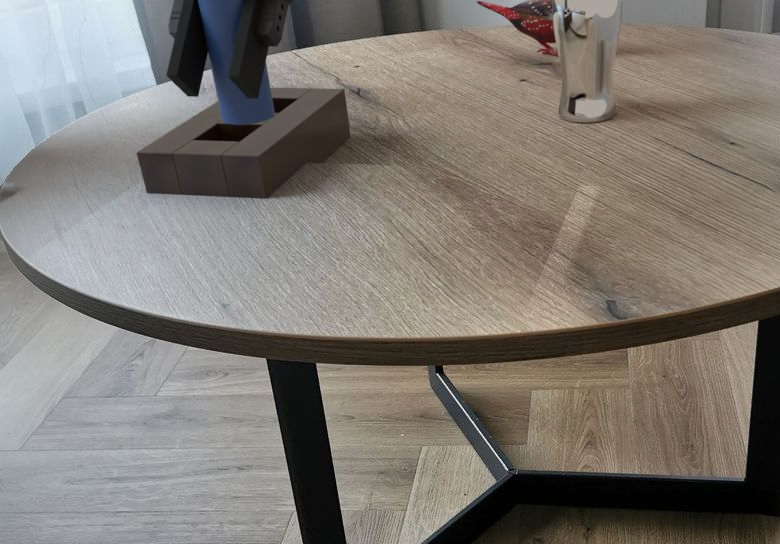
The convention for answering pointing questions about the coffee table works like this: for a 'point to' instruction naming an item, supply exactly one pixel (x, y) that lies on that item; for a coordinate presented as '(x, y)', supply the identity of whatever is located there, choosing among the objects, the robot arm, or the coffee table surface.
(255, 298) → the coffee table surface
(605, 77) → the beer glass
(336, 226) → the coffee table surface
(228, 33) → the blue peg
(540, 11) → the decorative bird figurine
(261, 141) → the peg rack
